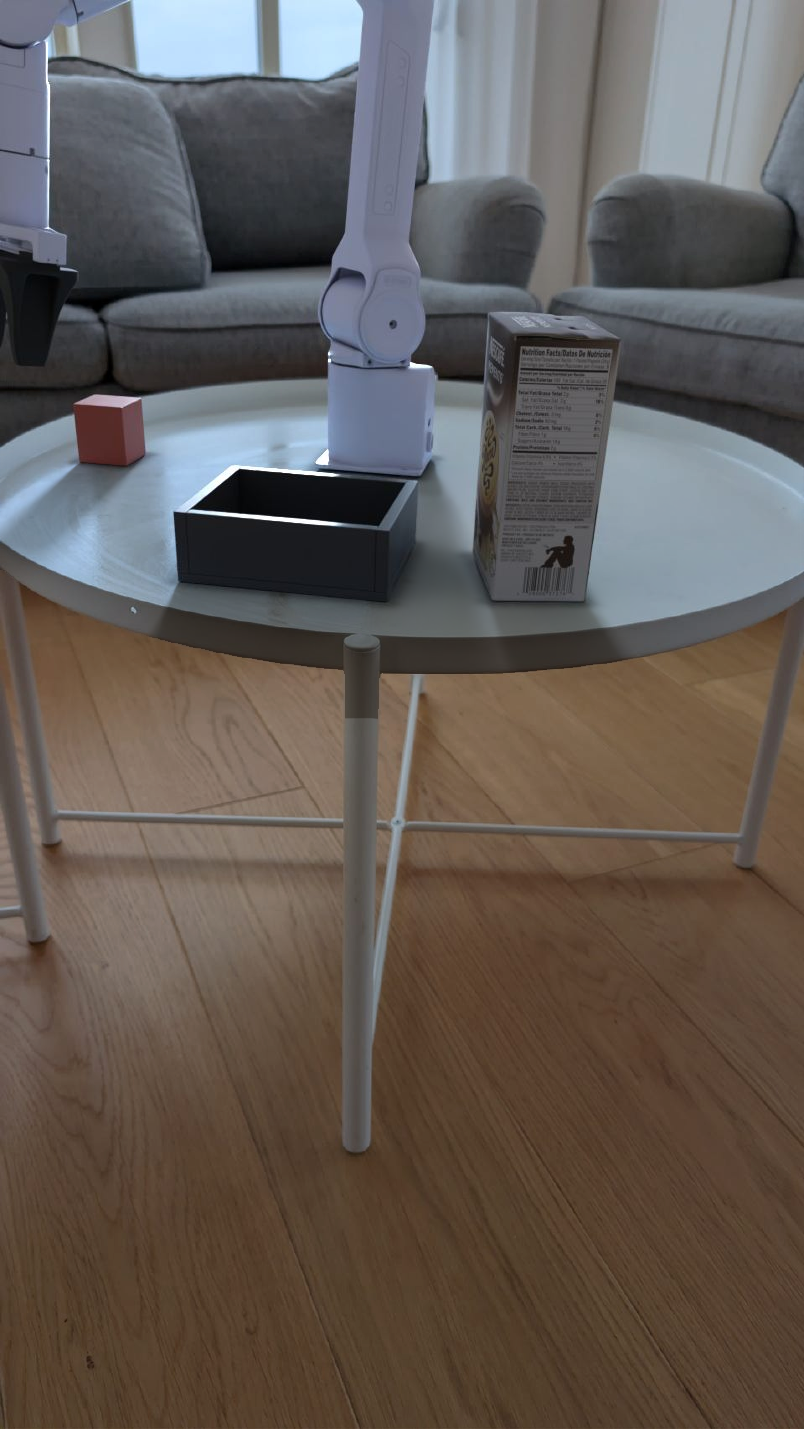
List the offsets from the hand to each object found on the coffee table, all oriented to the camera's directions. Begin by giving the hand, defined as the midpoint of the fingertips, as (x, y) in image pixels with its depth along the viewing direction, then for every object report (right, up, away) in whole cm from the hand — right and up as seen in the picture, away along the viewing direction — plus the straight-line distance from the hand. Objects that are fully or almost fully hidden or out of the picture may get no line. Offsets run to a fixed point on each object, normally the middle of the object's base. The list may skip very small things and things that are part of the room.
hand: (7, 355), depth 77 cm
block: (+4, -4, +14) cm, 15 cm away
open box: (+23, -17, -7) cm, 29 cm away
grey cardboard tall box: (+38, -18, -8) cm, 43 cm away
